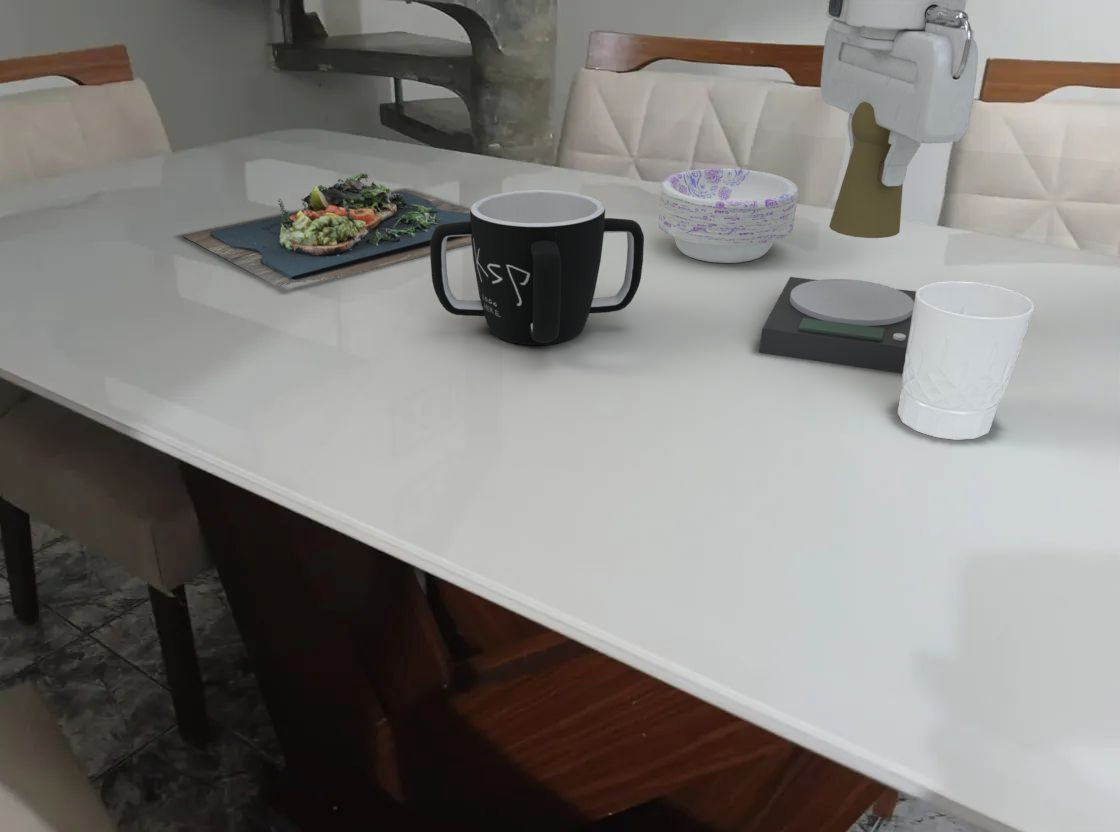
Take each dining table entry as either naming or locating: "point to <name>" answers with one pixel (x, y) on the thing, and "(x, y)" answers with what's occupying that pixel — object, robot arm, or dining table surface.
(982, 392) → the white cup
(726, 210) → the paper bowls
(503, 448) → the dining table surface
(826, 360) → the kitchen scale
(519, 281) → the mug
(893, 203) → the olive pawn figure
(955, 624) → the dining table surface
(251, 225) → the plated dish
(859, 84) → the robot arm
